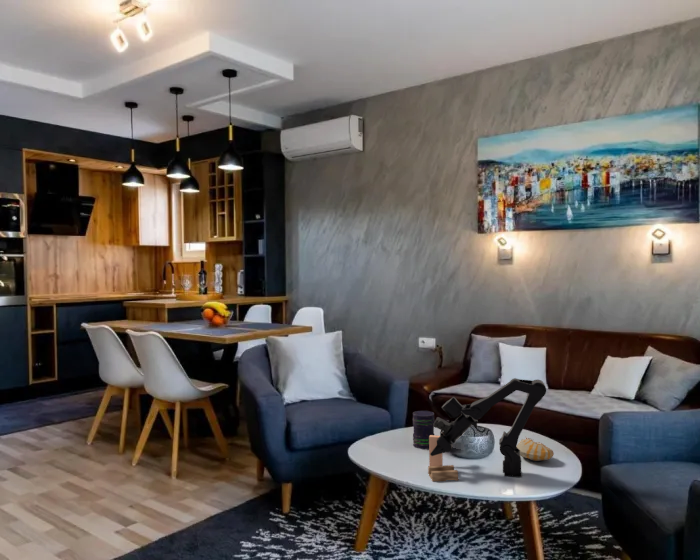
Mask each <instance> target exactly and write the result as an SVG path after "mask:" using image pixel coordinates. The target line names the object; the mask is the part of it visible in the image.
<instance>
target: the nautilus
mask: <svg viewBox="0 0 700 560" xmlns="http://www.w3.org/2000/svg"><path fill="white" fill-rule="evenodd" d="M516 447H517V448H518V449H519V450H520V457H521V458H525V459H528V460H531V461H534V462H536V461H537V462H539V461H546V460H550V459H552V458H553V457H554V456H555V453H554V450H553V449H551V448H550V447H548V446H546V445H545V444H544V443H542V442H540V441H537V442H535V441H534V439H532V438H529V437H525V438H524V439H523V438H522V439H521V440H520V441H519V442H517V446H516Z"/></svg>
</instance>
